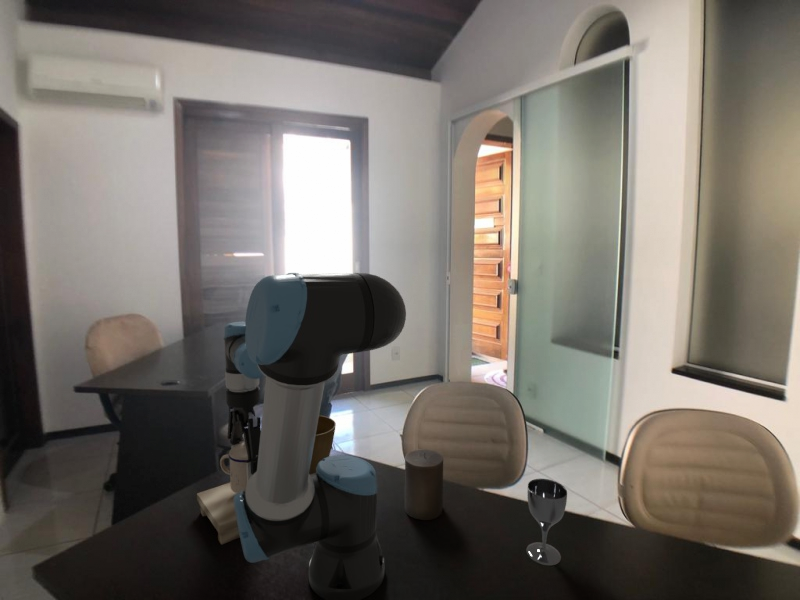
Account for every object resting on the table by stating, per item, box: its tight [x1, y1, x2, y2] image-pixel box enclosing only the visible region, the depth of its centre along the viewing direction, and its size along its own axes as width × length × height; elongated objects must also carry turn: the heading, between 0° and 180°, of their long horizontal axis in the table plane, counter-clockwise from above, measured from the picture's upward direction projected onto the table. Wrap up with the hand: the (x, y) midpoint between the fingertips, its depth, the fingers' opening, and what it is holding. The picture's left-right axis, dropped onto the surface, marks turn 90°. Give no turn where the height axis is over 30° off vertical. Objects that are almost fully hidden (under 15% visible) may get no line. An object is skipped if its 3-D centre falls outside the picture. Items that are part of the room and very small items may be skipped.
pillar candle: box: [404, 448, 444, 521], centre depth 108 cm, size 10×10×15 cm
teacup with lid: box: [219, 440, 248, 493], centre depth 105 cm, size 12×9×12 cm
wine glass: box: [525, 478, 568, 567], centre depth 92 cm, size 8×8×15 cm
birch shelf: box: [196, 482, 240, 545], centre depth 105 cm, size 16×18×5 cm
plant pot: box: [309, 414, 337, 474], centre depth 121 cm, size 15×15×16 cm
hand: (245, 476), depth 104 cm, fingers closed on teacup with lid, 9 cm apart
